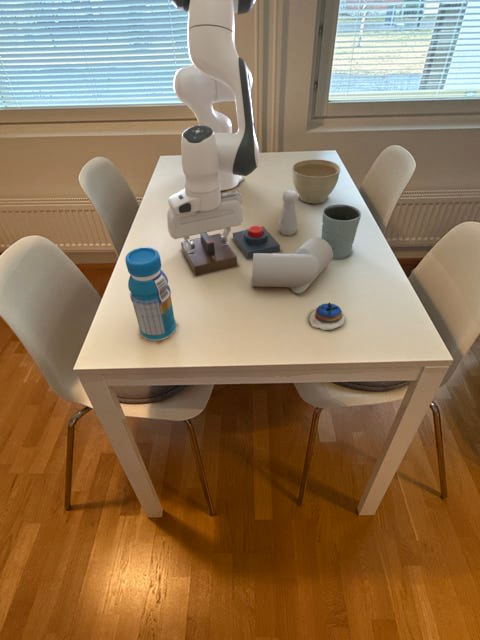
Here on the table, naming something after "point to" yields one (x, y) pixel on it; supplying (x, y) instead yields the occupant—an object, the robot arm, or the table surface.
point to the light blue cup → (340, 228)
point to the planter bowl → (315, 179)
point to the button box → (255, 243)
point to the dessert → (327, 317)
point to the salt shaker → (288, 213)
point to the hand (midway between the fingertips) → (207, 244)
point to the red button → (255, 231)
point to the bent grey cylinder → (292, 266)
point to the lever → (207, 243)
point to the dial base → (206, 263)
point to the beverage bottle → (150, 294)
